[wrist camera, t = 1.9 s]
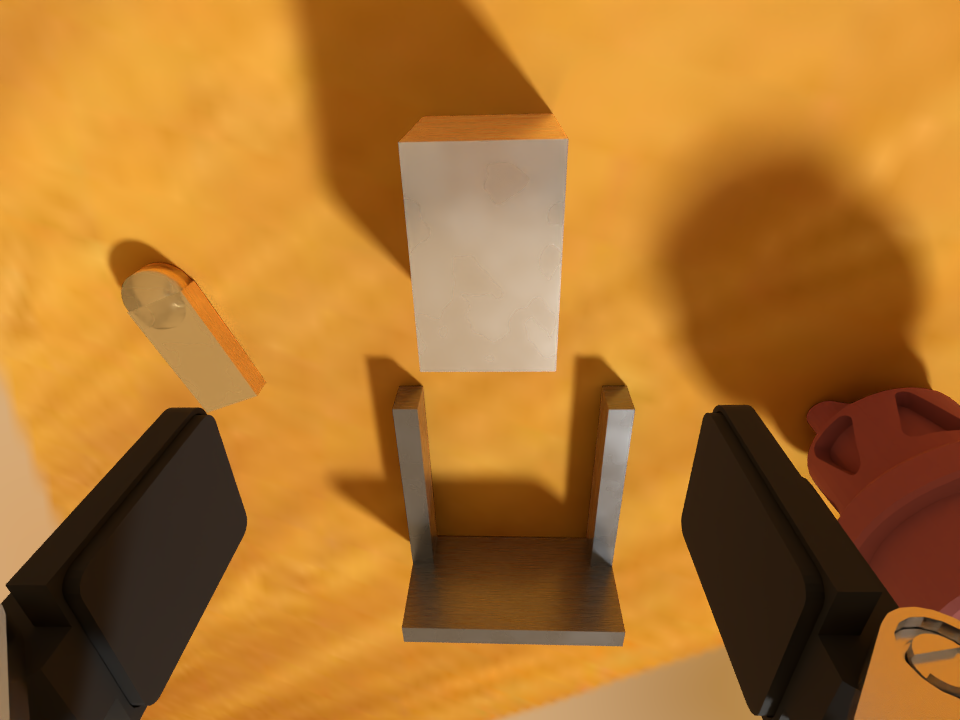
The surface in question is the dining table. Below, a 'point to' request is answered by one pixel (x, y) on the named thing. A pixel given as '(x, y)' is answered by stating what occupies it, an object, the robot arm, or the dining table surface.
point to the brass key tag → (190, 336)
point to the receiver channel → (514, 553)
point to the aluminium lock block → (485, 239)
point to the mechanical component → (896, 488)
